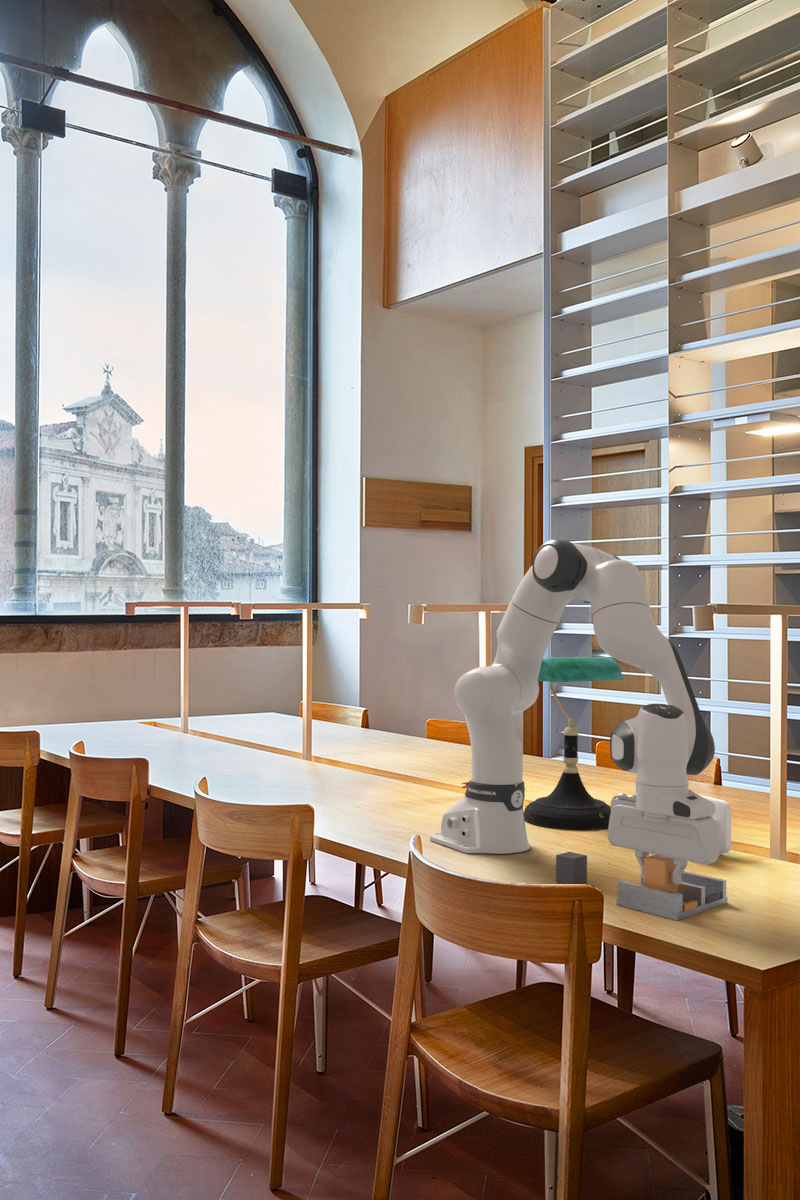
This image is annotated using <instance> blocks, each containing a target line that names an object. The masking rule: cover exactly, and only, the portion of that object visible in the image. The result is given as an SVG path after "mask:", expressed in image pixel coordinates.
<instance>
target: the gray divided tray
mask: <svg viewBox="0 0 800 1200" xmlns="http://www.w3.org/2000/svg"><path fill="white" fill-rule="evenodd" d="M728 897H729V896H727V879H723V878H717V877H714V876H708V875H703V874H699V873H695V872H690V871H685V870H684V871H683V872H682V873H681V883H680V884H678V893H675V892H671V891H667V890H662V889H658V888H654V887H650V886H645V885H644V877H642V876H641V875H640V883H636V882H632V881H629V880H624V879H620V880H618V881H617V898H616V903H615V904H616V906H619V905H620V907H623V908H628V909H632V910H636V911H639V912H644V913H646V914H650V915H654V916H657V917H658V916H660V917H662V918H667V919H670V920H674V921H680V920H683V919H685V918H688V917H691V916H694V915H697V914H699V913H703V912H705V911H708V910H710V909H714V908H717V907H720V906H723V905H725V904H728Z"/></svg>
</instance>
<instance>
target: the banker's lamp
mask: <svg viewBox="0 0 800 1200" xmlns="http://www.w3.org/2000/svg"><path fill="white" fill-rule="evenodd" d="M624 680H625V678H624V675H623V673H622V671H621V668H620V666H619V663H618V661H617V660H616V659H614V658H613V657H609V656H608V657H607V656H572V657H571V656H570V657H569V656H567V657H566V656H565V657H563V656H562V657H553V656H552V657H543V659H542V663H541V668H540V672H539V677H538V682H547V683H548V682H549V683H548V687H549V691H550V693H551V694H552V696H553V698H554V699H555V701H556V702H557V704H558V705H559V707H560V709H561V710H562V711H563V714H564V715H565V717H566V719H567V720H568V721H567V724H568V725H567V726H566V727H565V728H564V730H563V736H564V737H563V738H564V739H563V759H562V760H563V763H564V764H565V765H564V767H562V768H563V769H562V773H561V776H560V777H559V780H558V782H557V784H556V786H555V787H554V789H553V791H551V793H550V794H548V795H547V796H541V797H539V798H536V799H535V800H533V801H531V802H530V803H528V804H527V805H526V806H525V808H524V809H523V811H524V820H525V822H527V823H528V824H532V825H534V826H537V827H543V828H548V829H557V830H569V831H570V830H571V831H572V830H573V831H591V830H592V829H593V831H594V830H602V829H608V828H609V820H610V814H611V805H609V804H607V803H606V802H605V801H604V800H602V799H601V800H600V799H597V798H594V797H593V796H592V795H591V794H590V793H589V792H588V790H587V789H586V787H585V785H584V783H583V781H582V777H581V776H580V772H579V768H578V766H577V764H578V762H579V756H578V755H579V754H578V747H579V745H578V744H579V741H578V739H579V730H578V728H577V727H575V725H574V724H575V720H574V718H572V717H571V715H570V714H569V713H568V711H567V710H566V708H565V706H564V705H563V703H562V701H561V699H560V698H559V697H558V695H557V694H556V692H555V690H554V688H553V684H554V683H573V682H574V683H576V682H577V683H578V682H579V683H580V682H604V681H606V682H607V681H624Z"/></svg>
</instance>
